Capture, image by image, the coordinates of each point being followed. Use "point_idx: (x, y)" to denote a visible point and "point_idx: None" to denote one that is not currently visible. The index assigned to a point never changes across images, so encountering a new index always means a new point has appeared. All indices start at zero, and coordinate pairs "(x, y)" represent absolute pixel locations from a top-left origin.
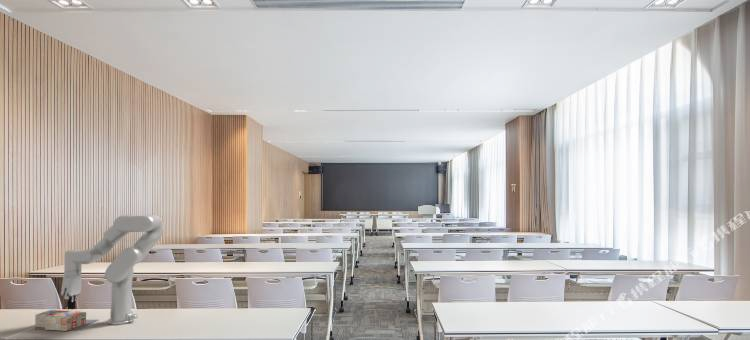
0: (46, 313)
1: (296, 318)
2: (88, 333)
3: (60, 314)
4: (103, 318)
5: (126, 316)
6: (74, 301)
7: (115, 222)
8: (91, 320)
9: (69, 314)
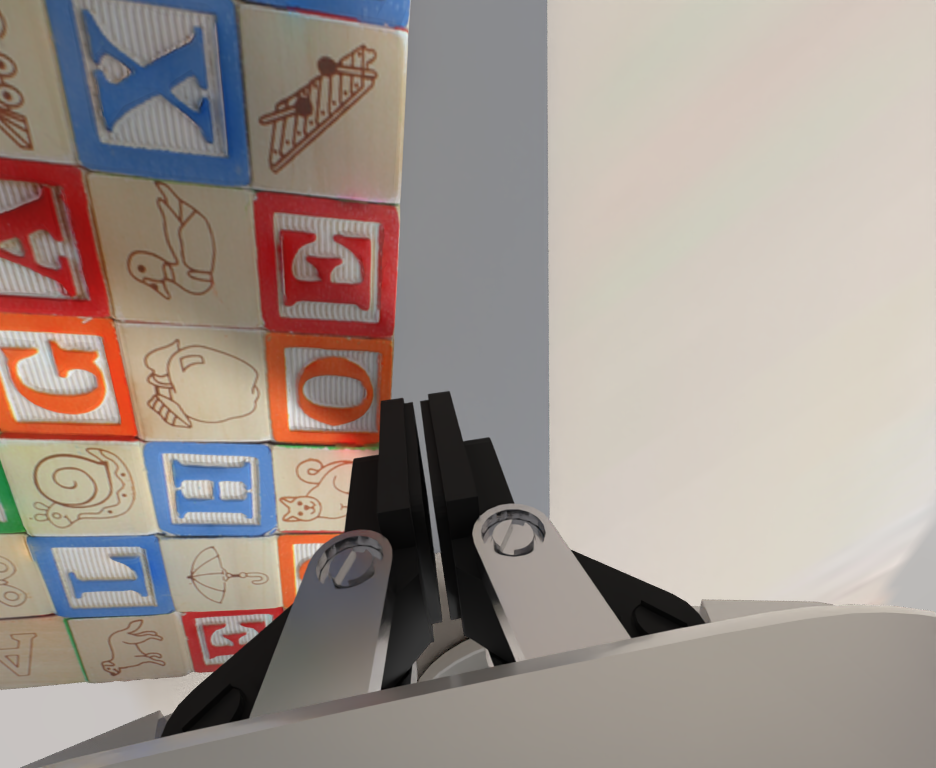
0: (19, 11)
1: None
2: (147, 711)
3: (104, 452)
4: (614, 522)
5: None
6: (432, 632)
7: None
8: (514, 496)
9: (173, 582)
